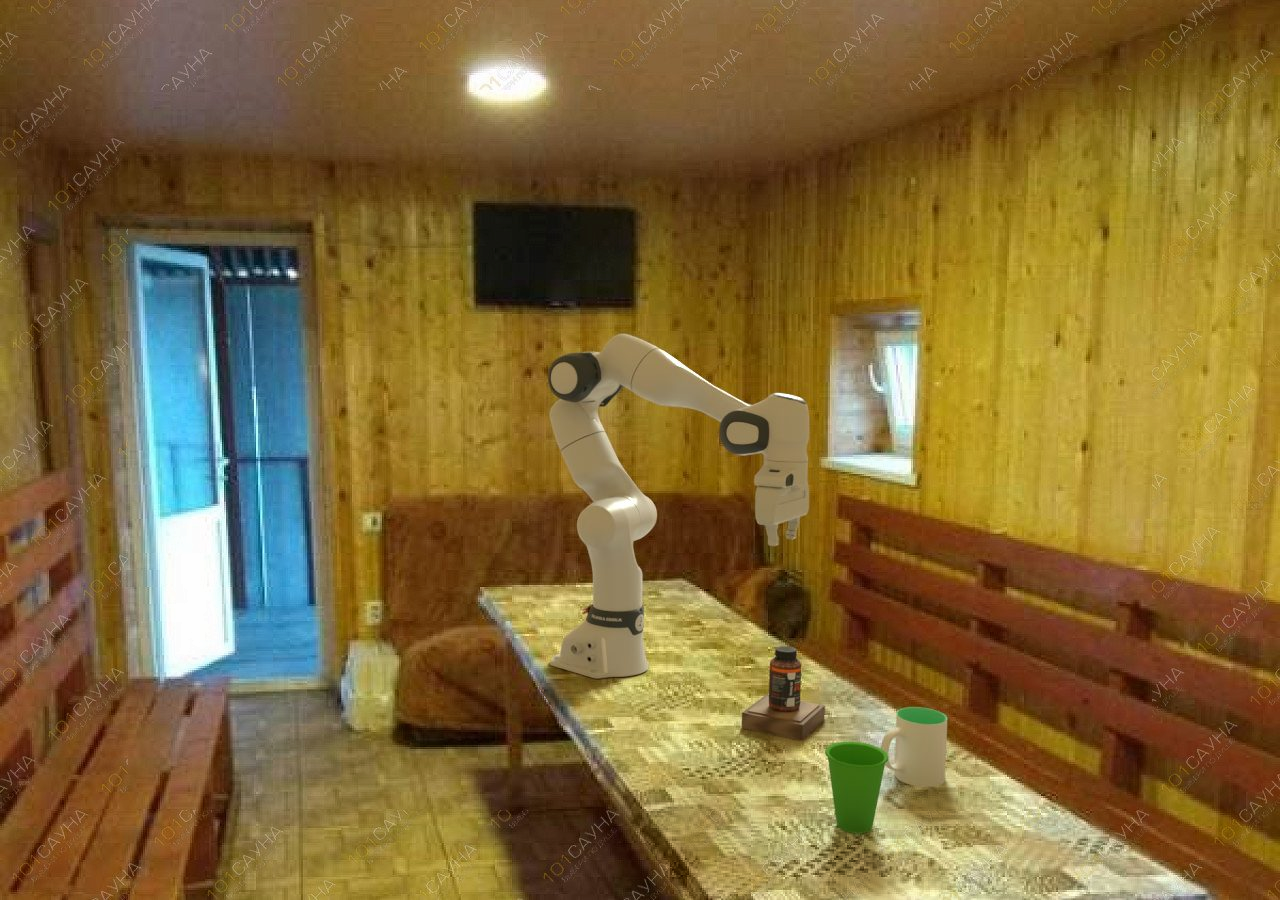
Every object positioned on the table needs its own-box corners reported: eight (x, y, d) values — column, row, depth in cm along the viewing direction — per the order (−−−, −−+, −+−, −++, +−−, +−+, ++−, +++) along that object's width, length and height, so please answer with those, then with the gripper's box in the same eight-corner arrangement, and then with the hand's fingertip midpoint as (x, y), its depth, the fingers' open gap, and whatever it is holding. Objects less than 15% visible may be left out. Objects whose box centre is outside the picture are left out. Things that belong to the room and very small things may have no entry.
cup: (816, 812, 144) (817, 741, 143) (874, 810, 145) (876, 740, 144) (832, 841, 135) (835, 766, 134) (895, 839, 136) (897, 764, 135)
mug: (902, 795, 150) (904, 731, 150) (866, 777, 157) (868, 715, 157) (955, 780, 156) (958, 719, 156) (918, 763, 163) (921, 704, 162)
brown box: (741, 728, 178) (742, 711, 178) (766, 709, 189) (766, 692, 189) (802, 741, 172) (802, 723, 172) (824, 720, 183) (824, 704, 183)
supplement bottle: (800, 713, 177) (801, 654, 176) (767, 711, 178) (769, 652, 177) (800, 703, 183) (802, 645, 182) (769, 700, 184) (770, 643, 183)
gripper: (789, 469, 202) (786, 533, 203) (750, 477, 185) (747, 547, 186) (818, 471, 199) (815, 536, 200) (780, 480, 181) (777, 551, 183)
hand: (782, 542), depth 193 cm, fingers open, 8 cm apart
